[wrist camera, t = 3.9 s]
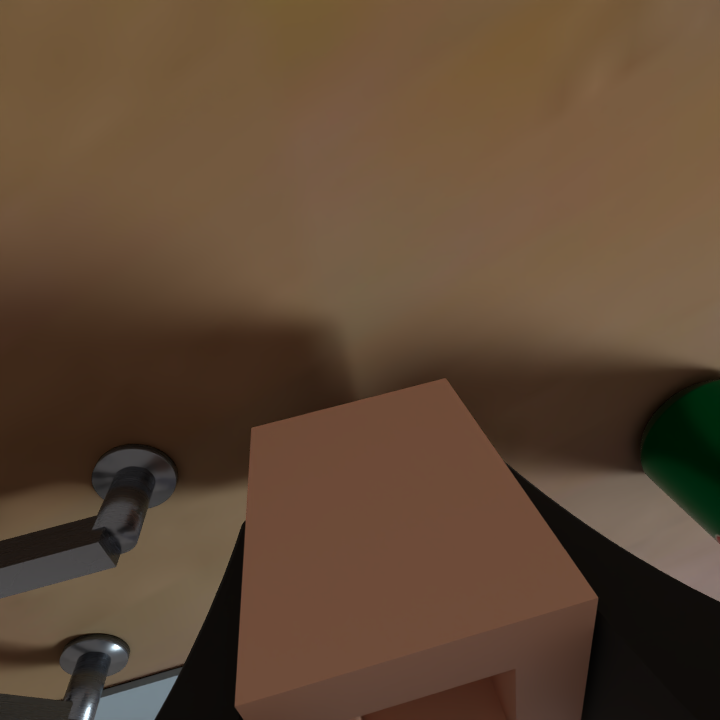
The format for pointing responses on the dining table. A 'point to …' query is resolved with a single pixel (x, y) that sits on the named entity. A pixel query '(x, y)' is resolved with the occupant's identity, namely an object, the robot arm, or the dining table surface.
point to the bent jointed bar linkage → (86, 571)
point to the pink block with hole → (403, 573)
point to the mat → (136, 698)
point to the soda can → (687, 452)
